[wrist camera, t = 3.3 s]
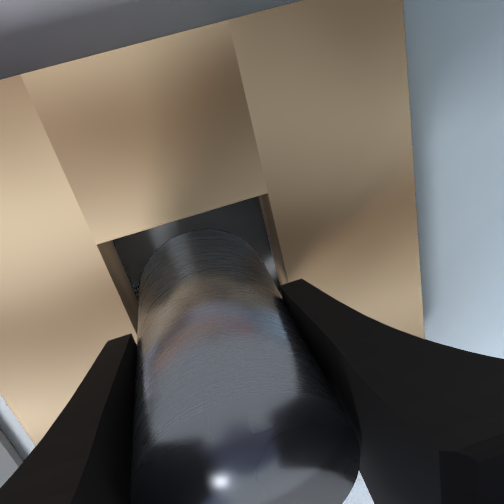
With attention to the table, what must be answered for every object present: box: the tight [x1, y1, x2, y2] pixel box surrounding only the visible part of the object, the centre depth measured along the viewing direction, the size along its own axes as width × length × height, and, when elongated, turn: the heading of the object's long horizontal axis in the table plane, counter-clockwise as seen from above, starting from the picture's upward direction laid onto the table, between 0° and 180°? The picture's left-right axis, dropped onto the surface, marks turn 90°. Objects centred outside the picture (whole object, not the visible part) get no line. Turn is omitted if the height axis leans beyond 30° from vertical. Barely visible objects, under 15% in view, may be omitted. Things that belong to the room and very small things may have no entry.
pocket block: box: [0, 0, 425, 446], centre depth 14 cm, size 14×14×2 cm
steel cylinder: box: [130, 229, 361, 504], centre depth 11 cm, size 4×4×7 cm
